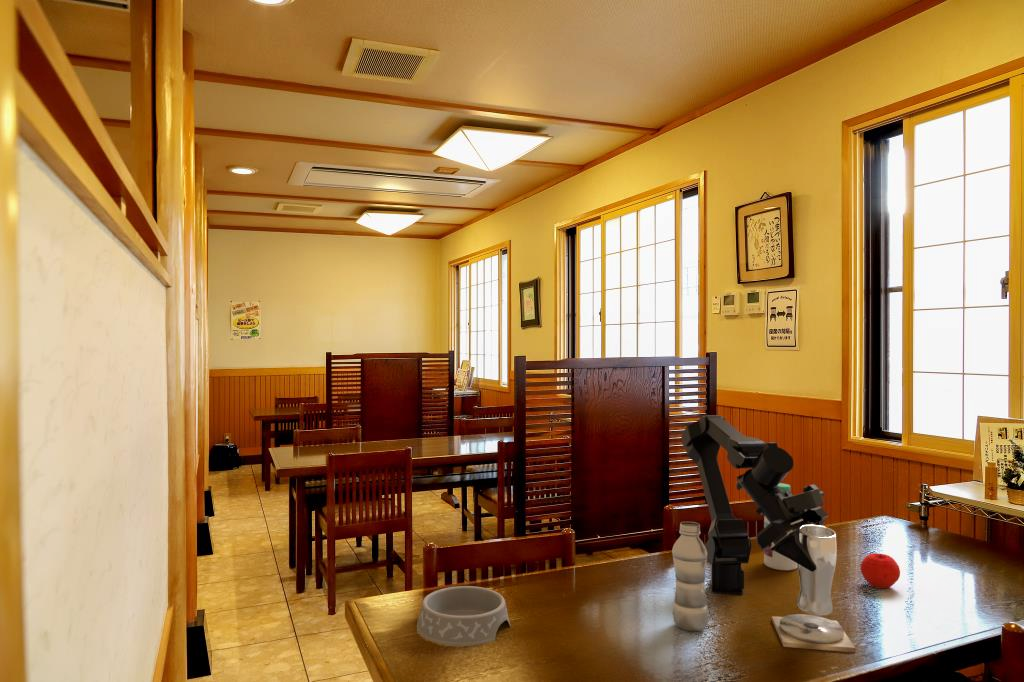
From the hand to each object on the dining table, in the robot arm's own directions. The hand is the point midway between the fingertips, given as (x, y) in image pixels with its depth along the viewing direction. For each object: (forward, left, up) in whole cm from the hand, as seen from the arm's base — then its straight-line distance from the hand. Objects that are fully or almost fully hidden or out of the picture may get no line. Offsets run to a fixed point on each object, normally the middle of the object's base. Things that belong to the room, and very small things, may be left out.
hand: (823, 566), depth 127 cm
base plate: (-2, 0, -13) cm, 13 cm away
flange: (-2, 0, -13) cm, 13 cm away
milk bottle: (0, +41, -13) cm, 44 cm away
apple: (+19, +30, -13) cm, 38 cm away
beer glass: (-1, +2, -9) cm, 9 cm away
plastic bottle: (-24, -1, -13) cm, 28 cm away
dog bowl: (-67, -8, -14) cm, 69 cm away
